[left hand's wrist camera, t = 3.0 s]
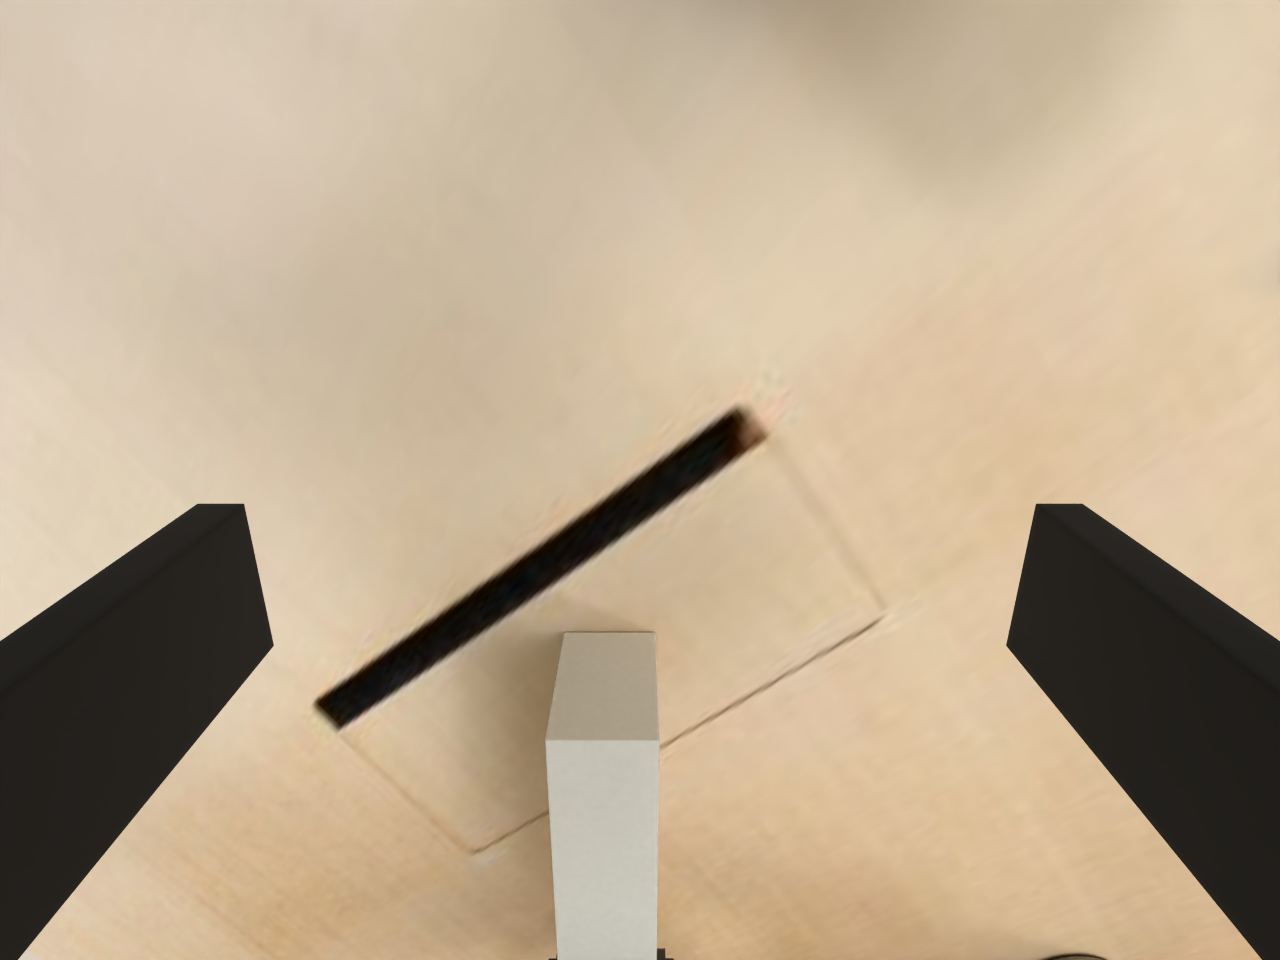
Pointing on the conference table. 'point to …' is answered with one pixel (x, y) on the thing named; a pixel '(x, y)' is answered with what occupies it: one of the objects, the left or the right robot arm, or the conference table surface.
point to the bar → (604, 796)
